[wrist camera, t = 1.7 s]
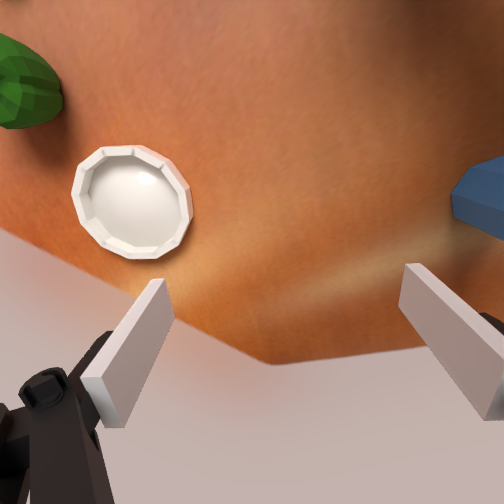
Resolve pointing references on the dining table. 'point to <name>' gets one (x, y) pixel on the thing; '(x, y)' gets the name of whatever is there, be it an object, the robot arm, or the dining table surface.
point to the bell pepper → (26, 87)
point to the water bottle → (482, 197)
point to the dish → (132, 201)
